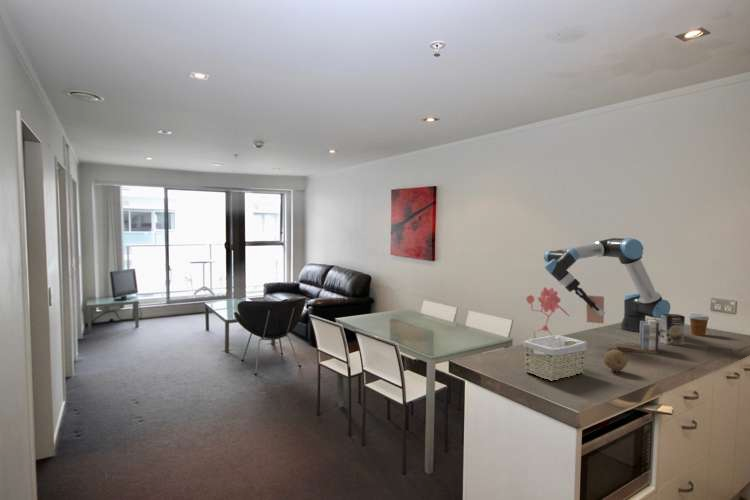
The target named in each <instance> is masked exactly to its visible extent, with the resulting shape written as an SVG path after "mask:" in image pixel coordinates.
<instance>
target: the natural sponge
mask: <svg viewBox="0 0 750 500" xmlns="http://www.w3.org/2000/svg"><path fill="white" fill-rule="evenodd" d="M603 360H604V361H603V362H604V365H606V367H608V368H609V369H610V370H611V371H613V372H615V371H616V372H615V373H619V372H621V371H622V370H623V369H624V368H625V367H626V365H627V363H628V357H627V355H626V354H625V353H624V352H623V351H622V350H617V349H611V350H609V351H607V352H606V353H605V355H604V356H603Z"/></svg>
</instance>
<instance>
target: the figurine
mask: <svg viewBox="0 0 750 500" xmlns="http://www.w3.org/2000/svg"><path fill="white" fill-rule="evenodd" d="M534 301H535V297H534V296H533V295H532V294H530V295H528V296H526V302H527V304H528V305H529V304H530V309H531V312H540V313H543V314H544V315H545V316H546V317H547V318H546V322H545V325H543V326H542V328H540V329H537V330H534V332H533V336H534V338H536V334H535V333H536V332H539V331H544V332H546V331H548V332H549V334H550V336H553V334H552V332H551V331H550V330H549V327H548V326H547V324H548V321H549V319H550V316H551V315H552V314H553V313H555V311H556V309H560V310H561V311H562V312H563V313H564V314H565V315H567V317H570V314H568V312H567V311H566V310H564V309H563V307H561V306H560V305H559V303H560V302H561V298H560V297H558V291H557V290H554V288H553V287H550V288H549V289H548V288H547V287H546V286H544V287H543V289H542V290H541V291H540V296H538V297H537V301H538V302H540V307H541V309H533V303H534ZM543 310H544V311H543ZM549 311H551V312H550V313H549V314H548V313H547V312H549Z"/></svg>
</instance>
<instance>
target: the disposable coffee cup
mask: <svg viewBox="0 0 750 500" xmlns="http://www.w3.org/2000/svg"><path fill="white" fill-rule="evenodd" d="M688 317H689V321H690V330H691V335H693V336H696V337H706V332H707V327H708V321H709V319H710V318H709V316H708V315H707V314H700V313H690V314H689V316H688Z"/></svg>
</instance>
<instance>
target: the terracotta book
mask: <svg viewBox="0 0 750 500" xmlns="http://www.w3.org/2000/svg"><path fill="white" fill-rule="evenodd" d="M586 295H587V294H586ZM587 297H588V298H589V299H591V300H592V301H593V302H594V303H595V304H596V305H597V306H598V307H599V308H600V309H602V310H603V311H604V312H605V297H604V296H603V295H587ZM585 303H586V306H585V307H586V310H585V311H586V312H585V313H586V314H585V316H586V317H585V319H586V323H592V324H593V323H594V324H595V323H596V324H604V320H605V319H604V315H605V314H604V315H603V316H600V315H599V314H598V313H597V312H596V311H595V310H594V309H593V308H590V305H589V304H588V303H587V302H585Z"/></svg>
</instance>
